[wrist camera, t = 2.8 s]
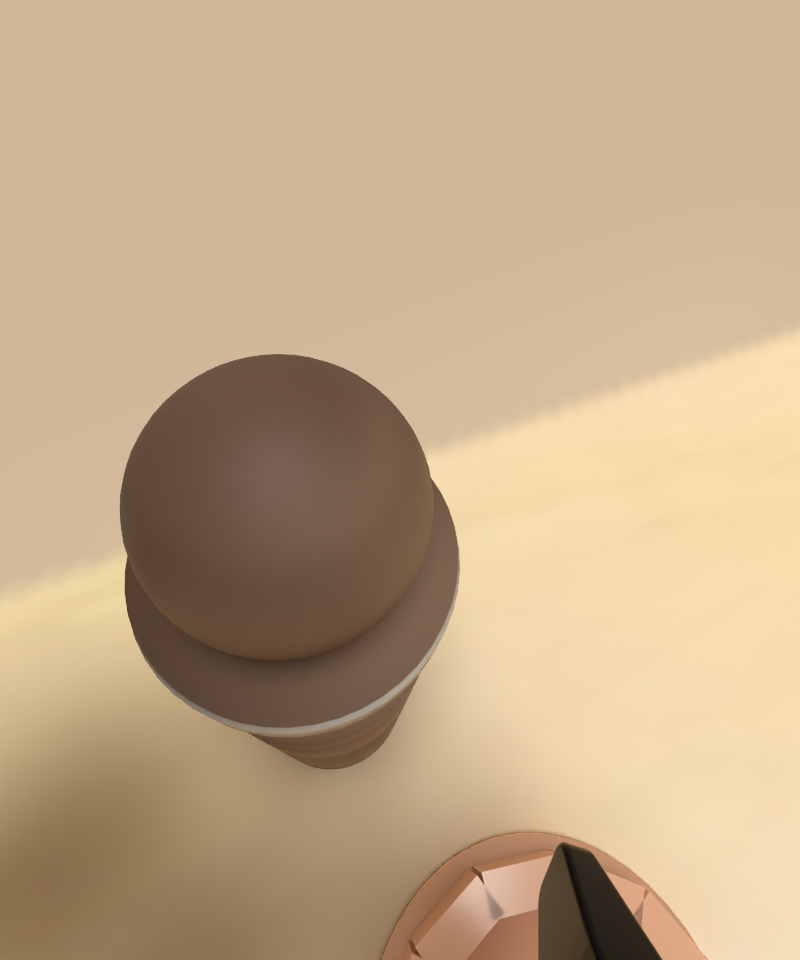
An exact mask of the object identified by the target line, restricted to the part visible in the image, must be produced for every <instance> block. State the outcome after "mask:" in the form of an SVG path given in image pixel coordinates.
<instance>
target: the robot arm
mask: <svg viewBox="0 0 800 960" xmlns="http://www.w3.org/2000/svg"><path fill="white" fill-rule="evenodd" d="M538 960H663V959H662V958H661V956H660V955H659V953H658V952H657V950H656V948H655V947H654V945H653V944H652V942H651V941H650V939H649V938H648V936H647V935H646V933H645V932H644V930H643V929H642V927H641V925H640V924H639V922H638V921H637V919H636V918H635V916H634V915H633V913H632V912H631V910H630V909H629V907H628V906H627V904H626V903H625V901H624V899H623V898H622V896H621V895H620V893H619V892H618V890H617V889H616V887H615V886H614V884H613V883H612V881H611V880H610V878H609V876H608V875H607V873H606V872H605V870H604V869H603V867H602V866H601V864H600V863H599V861H598V860H597V858H596V857H595V855H594V854H593V853H592V852H591V851H590V850H588V849H586V848H583V847H580V846H577V845H574V844H571V843H567V842H561V843H560V844H559V845H558V846H557V848H556V850H555V852H554V854H553V857H552V859H551V862H550V864H549V867H548V869H547V872H546V874H545V877H544V879H543V881H542V884H541V888H540V892H539V900H538Z"/></svg>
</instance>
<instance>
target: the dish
mask: <svg viewBox="0 0 800 960" xmlns="http://www.w3.org/2000/svg"><path fill="white" fill-rule="evenodd" d="M561 842H567V843H571V844H574V845H577V846H580V847H583V848H586V849H588V850H590V851H591V852H592V853H593V854H594V855H595V857H596V858H597V860H598V861H599V863H600V864H601V866H602V867H603V869H604V870H605V872H606V873H607V875H608V876H609V878H610V880H611V881H612V883H613V884H614V886H615V887H616V889H617V890H618V892H619V893H620V895H621V896H622V898H623V899H624V901H625V903H626V904H627V906H628V907H629V909H630V910H631V912H632V913H633V915H634V916H635V918H636V919H637V921H638V922H639V924H640V925H641V927H642V929H643V930H644V932H645V933H646V935H647V936H648V938H649V939H650V941H651V942H652V944H653V945H654V947H655V948H656V950H657V952H658V953H659V955H660V956H661V958H662V959H663V960H708V959H707V958H706V956H705V955H704V954H703V953H702V952H701V951H700V949H699V948H698V947H697V945H696V944H695V942H694V941H693V939H692V938H691V936H690V934H689V933H688V931H687V930H686V928H685V927H684V926H683V924H682V923H681V922H680V920H679V919H678V918H677V917H676V915H675V914H674V913H673V911H672V910H671V909H670V908H669V906H668V905H667V904H666V903H665V902H664V901H663V900H662V899H661V898H660V897H659V896H658V895H657V893H656V892H655V891H654V890H653V889H652V888H651V887H650V886H649V885H648V884H647V883H645V882H644V881H643V880H642V879H641V878H640V877H638V876H637V875H636V874H635V873H634V872H632V871H631V870H630V869H629V868H627V867H626V866H624V865H623V864H621V863H620V862H618V861H617V860H615V859H614V858H612V857H611V856H609V855H608V854H606V853H604V852H602V851H600V850H598V849H595V848H593V847H591V846H589V845H587V844H584V843H581V842H578V841H575V840H572V839H569V838H566V837H562V836H556V835H550V834H544V833H514V834H508V835H501V836H497V837H494V838H491V839H488V840H485V841H482V842H479V843H477V844H475V845H473V846H471V847H469V848H467V849H465V850H463V851H462V852H460V853H459V854H457V855H456V856H454V857H453V858H452V859H450V860H449V861H448V862H446V863H445V864H443V865H442V866H441V867H440V868H439V869H438V870H437V871H436V872H435V873H434V874H433V875H432V876H431V877H430V878H429V879H428V880H427V881H426V882H425V883H424V884H423V886H422V887H421V888H420V889H419V891H418V892H417V893H416V895H415V896H414V897H413V898H412V900H411V901H410V903H409V904H408V906H407V908H406V909H405V911H404V912H403V914H402V916H401V917H400V919H399V921H398V922H397V924H396V926H395V928H394V931H393V933H392V935H391V937H390V939H389V942H388V944H387V946H386V948H385V950H384V953H383V956H382V959H381V960H538V900H539V892H540V888H541V884H542V881H543V879H544V877H545V874H546V872H547V869H548V867H549V864H550V862H551V859H552V857H553V854H554V852H555V850H556V848H557V846H558V845H559V844H560V843H561Z"/></svg>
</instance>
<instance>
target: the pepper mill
mask: <svg viewBox="0 0 800 960" xmlns="http://www.w3.org/2000/svg"><path fill="white" fill-rule="evenodd" d="M120 521H121V530H122V537H123V543H124V546H125V549H126V552H127V555H128V557H127V563H126V569H125V597H126V605H127V612H128V616H129V619H130V623H131V626H132V629H133V633H134V636H135V639H136V642H137V644H138V646H139V648H140V650H141V652H142V654H143V656H144V658H145V660H146V662H147V663H148V664H149V666H150V667H151V669H152V670H153V672H154V673H155V674H156V676H157V677H158V679H159V680H160V681H161V682H162V683H163V684H164V685H165V686H166V687H167V688H168V689H169V690H170V691H171V692H172V693H173V694H174V695H175V696H177V697H178V698H179V699H181V700H182V701H184V702H185V703H186V704H188V705H189V706H190V707H192V708H193V709H195V710H197V711H199V712H201V713H203V714H204V715H206V716H208V717H210V718H212V719H214V720H216V721H218V722H220V723H222V724H224V725H226V726H229V727H232V728H235V729H238V730H241V731H244V732H247V733H249V734H251V735H253V736H255V737H256V738H258V739H260V740H262V741H264V742H266V743H267V744H269V745H271V746H273V747H275V748H277V749H279V750H280V751H282V752H284V753H286V754H288V755H290V756H291V757H293V758H295V759H297V760H299V761H301V762H303V763H305V764H307V765H310V766H313V767H316V768H322V769H338V768H344V767H348V766H351V765H354V764H356V763H358V762H361V761H362V760H364V759H366V758H367V757H369V756H370V755H371V754H372V753H374V752H375V751H376V750H377V749H378V748H379V747H380V746H381V745H382V744H383V743H384V741H385V740H386V738H387V737H388V736H389V734H390V732H391V730H392V728H393V726H394V724H395V722H396V720H397V718H398V716H399V714H400V712H401V710H402V708H403V706H404V704H405V702H406V700H407V698H408V696H409V694H410V692H411V690H412V688H413V686H414V684H415V682H416V680H417V678H418V676H419V674H420V672H421V671H422V669H423V668H424V667H425V665H426V664H427V662H428V661H429V660H430V658H431V656H432V654H433V652H434V651H435V649H436V647H437V645H438V643H439V642H440V640H441V638H442V636H443V634H444V632H445V630H446V627H447V625H448V622H449V620H450V617H451V614H452V612H453V609H454V604H455V600H456V596H457V592H458V584H459V573H460V563H459V548H458V542H457V537H456V532H455V527H454V524H453V521H452V518H451V515H450V512H449V509H448V506H447V504H446V502H445V500H444V498H443V496H442V494H441V492H440V491H439V489H438V488H437V486H436V485H435V483H434V482H433V480H432V479H431V477H430V472H429V467H428V464H427V461H426V458H425V455H424V452H423V450H422V447H421V445H420V443H419V441H418V439H417V437H416V435H415V433H414V431H413V429H412V428H411V426H410V425H409V423H408V422H407V420H405V417H404V416H403V415H402V414H401V412H400V411H399V410H398V409H397V408H396V406H395V405H394V404H393V403H392V402H391V401H390V400H389V399H388V398H387V397H386V396H385V395H384V394H383V393H381V392H380V391H379V390H378V389H377V388H375V387H374V386H372V385H371V384H370V383H368V382H367V381H365V380H364V379H362V378H361V377H359V376H358V375H356V374H354V373H352V372H350V371H348V370H346V369H344V368H342V367H339V366H336V365H334V364H331V363H329V362H325V361H321V360H317V359H313V358H310V357H304V356H297V355H284V354H273V355H260V356H252V357H247V358H242V359H238V360H234V361H231V362H228V363H225V364H222V365H219V366H217V367H215V368H213V369H210V370H208V371H206V372H205V373H203V374H201V375H199V376H197V377H196V378H194V379H192V380H191V381H190V382H188V383H187V384H185V385H184V386H182V387H181V388H180V389H178V390H177V391H176V392H175V393H174V394H173V395H171V396H170V397H169V398H168V399H167V400H166V401H165V402H164V403H163V404H162V405H161V406H160V407H159V408H158V410H157V411H156V412H155V413H154V414H153V415H152V417H151V418H150V420H149V421H148V423H147V424H146V426H145V427H144V429H143V430H142V432H141V433H140V435H139V437H138V439H137V441H136V443H135V445H134V447H133V449H132V451H131V454H130V457H129V459H128V462H127V465H126V469H125V473H124V477H123V483H122V488H121V494H120Z"/></svg>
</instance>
